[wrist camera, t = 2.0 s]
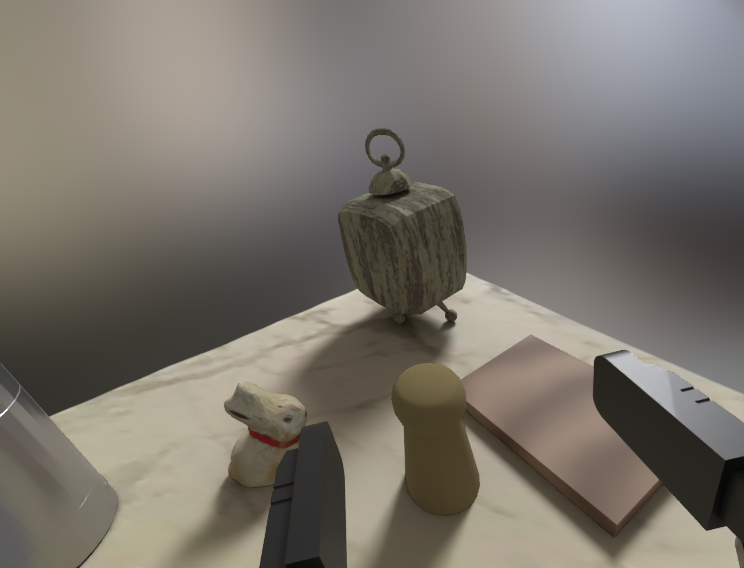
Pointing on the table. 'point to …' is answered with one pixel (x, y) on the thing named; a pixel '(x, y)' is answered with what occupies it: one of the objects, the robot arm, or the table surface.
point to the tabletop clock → (404, 240)
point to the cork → (435, 439)
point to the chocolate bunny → (263, 432)
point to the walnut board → (560, 429)
